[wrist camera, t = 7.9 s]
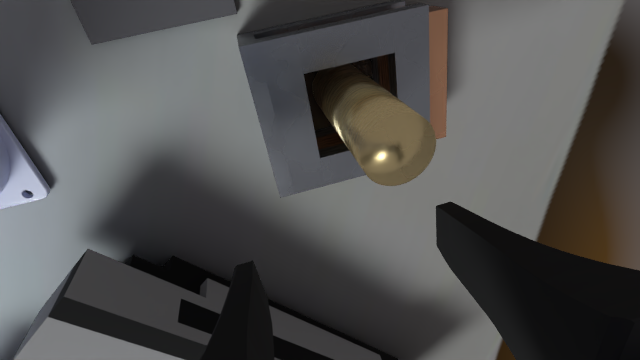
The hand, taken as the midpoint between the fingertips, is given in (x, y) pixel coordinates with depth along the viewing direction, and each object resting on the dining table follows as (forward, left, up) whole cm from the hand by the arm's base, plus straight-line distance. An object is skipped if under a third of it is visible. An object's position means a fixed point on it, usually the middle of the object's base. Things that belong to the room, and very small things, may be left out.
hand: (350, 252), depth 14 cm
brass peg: (+3, +3, -10) cm, 11 cm away
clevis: (+3, +3, -10) cm, 11 cm away
